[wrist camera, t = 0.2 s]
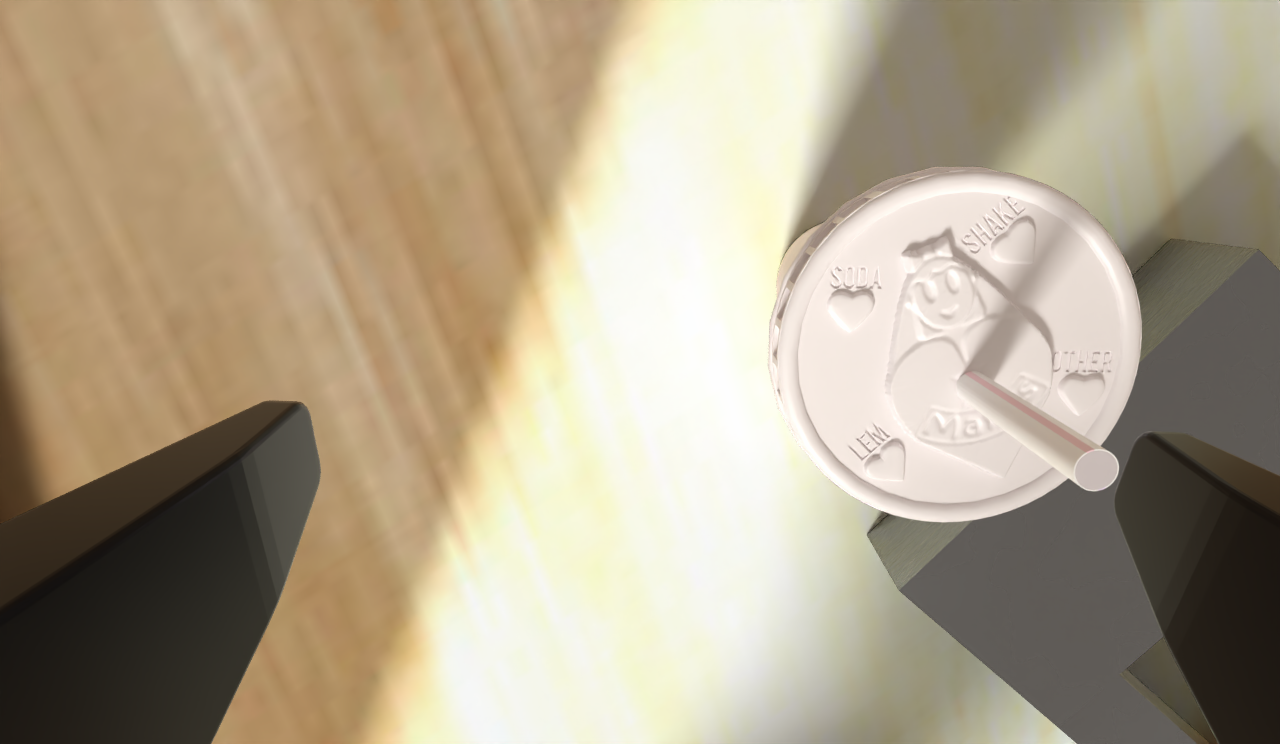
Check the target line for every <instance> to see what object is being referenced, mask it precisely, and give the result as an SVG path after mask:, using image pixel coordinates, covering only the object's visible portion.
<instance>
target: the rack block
mask: <svg viewBox="0 0 1280 744" xmlns="http://www.w3.org/2000/svg"><path fill="white" fill-rule="evenodd" d="M1132 278H1133V280H1134V283H1135V286H1136V290H1137V295H1138V299H1139V304H1140V312H1141V321H1142V341H1141V351H1140V359H1139V364H1138V369H1137V374H1136V377H1135V381H1134V384H1133V387H1132V391H1131V393H1130V396H1129V398H1128V400H1127V403H1126V405H1125V408H1124V410H1123V411H1122V413H1121V415H1120V417H1119V419H1118V421H1117V423H1116V424H1115V426H1114V428H1113V429H1112V431H1111V432H1110V434H1109V435H1108V437H1107V438H1106V440H1105V441H1104V442H1103V443H1102V445H1101V447H1103V448H1104V449H1106V450H1108V451H1109V452H1111V453H1112V454H1113V455H1114V456H1115V457H1116V458H1117V461H1118V464H1119V472H1118V475H1117V478H1116V479H1115V481H1114V482H1113V483H1112V484H1111V485H1110V486H1108V487H1107V488H1105V489H1103V490H1100V491H1088V490H1085V489H1083V488H1081V487H1080V486H1078V485H1077V484H1076V483H1074V482H1073V481H1072V480H1070V479H1069V478H1068V479H1067V480H1065V481H1064V482H1063V483H1061V484H1060V485H1059V486H1057V487H1056V488H1054V489H1053V490H1051V491H1050V492H1048V493H1046V494H1045V495H1043V496H1042V497H1040V498H1038V499H1036V500H1034V501H1032V502H1030V503H1028V504H1026V505H1023V506H1021V507H1018V508H1016V509H1013V510H1011V511H1008V512H1005V513H1002V514H998V515H995V516H991V517H987V518H982V519H977V520H970V521H962V522H927V521H920V520H913V519H907V518H903V517H899V516H895V515H892V514H888V515H887V516H886V517H885V518H884V519H883V520H882V521H881V522H880V523H879V524H878V525H877V526H876V527H875V528H874V529H873V530H872V531H871V532H870V533H869V534H867V536H868V538H869V540H870V541H871V543H872V545H873V547H874V548H875V550H876V552H877V553H878V555H879V557H880V559H881V560H882V562H883V564H884V566H885V567H886V569H887V571H888V573H889V574H890V576H891V578H892V579H893V581H894V583H895V585H896V586H897V588H898V590H899V591H900V592H901V593H902V594H904V595H905V596H906V597H907V598H908V599H909V600H911V601H912V602H913V603H914V604H915V605H916V606H918V607H919V608H920V609H921V610H922V611H923V612H925V613H926V614H927V615H928V616H929V617H930V618H932V619H933V620H934V621H935V622H936V623H937V624H939V625H940V626H941V627H942V628H943V629H944V630H945V631H947V632H948V633H949V634H950V635H951V636H952V637H954V638H955V639H956V640H957V641H958V642H959V643H961V644H962V645H963V646H964V647H965V648H966V649H968V650H969V651H970V652H971V653H972V654H973V655H975V656H976V657H977V658H978V659H979V660H980V661H982V662H983V663H984V664H985V665H986V666H987V667H989V668H990V669H991V670H992V671H993V672H994V673H996V674H997V675H998V676H999V677H1000V678H1001V679H1003V680H1004V681H1005V682H1006V683H1007V684H1008V685H1010V686H1011V687H1012V688H1013V689H1014V690H1015V691H1016V692H1018V693H1019V694H1020V695H1021V696H1022V697H1023V698H1025V699H1026V700H1027V701H1028V702H1029V703H1030V704H1032V705H1033V706H1034V707H1035V708H1036V709H1037V710H1039V711H1040V712H1041V713H1042V714H1043V715H1044V716H1046V717H1047V718H1048V719H1049V720H1050V721H1051V722H1053V723H1054V724H1055V725H1056V726H1057V727H1058V728H1060V729H1061V730H1062V731H1063V732H1064V733H1065V734H1067V735H1068V736H1069V737H1070V738H1071V739H1072V740H1074V741H1075V742H1076V743H1077V744H1210V743H1209V742H1208V741H1207V740H1206V739H1205V738H1203V737H1202V736H1201V735H1200V734H1199V733H1198V732H1197V731H1196V730H1194V729H1193V728H1192V727H1191V726H1190V725H1189V724H1188V723H1187V722H1185V721H1184V720H1183V719H1182V718H1181V717H1180V716H1179V715H1178V714H1176V713H1175V712H1174V711H1173V710H1172V709H1171V708H1170V707H1168V706H1167V705H1166V704H1165V703H1164V702H1163V701H1162V700H1161V699H1159V698H1158V697H1157V696H1156V695H1155V694H1154V693H1153V692H1152V691H1150V690H1149V689H1148V688H1147V687H1146V686H1145V685H1144V684H1143V683H1141V682H1140V681H1139V680H1138V679H1137V678H1136V677H1135V676H1134V675H1132V674H1131V673H1130V672H1129V671H1128V670H1127V669H1126V668H1128V667H1129V666H1130V665H1131V664H1132V663H1133V662H1135V661H1136V660H1137V659H1138V658H1139V657H1140V656H1142V655H1143V654H1144V653H1145V652H1146V651H1147V650H1149V649H1150V648H1151V647H1152V646H1153V645H1154V644H1156V643H1157V642H1158V641H1159V640H1160V639H1161V638H1162V637H1163V635H1162V632H1161V630H1160V628H1159V625H1158V623H1157V621H1156V618H1155V616H1154V613H1153V611H1152V608H1151V606H1150V603H1149V601H1148V598H1147V595H1146V593H1145V590H1144V588H1143V585H1142V583H1141V580H1140V577H1139V575H1138V572H1137V570H1136V567H1135V564H1134V562H1133V559H1132V557H1131V554H1130V552H1129V549H1128V546H1127V544H1126V541H1125V539H1124V536H1123V534H1122V531H1121V528H1120V526H1119V523H1118V521H1117V518H1116V515H1115V510H1114V495H1115V491H1116V488H1117V485H1118V483H1119V480H1120V477H1121V475H1122V472H1123V469H1124V467H1125V464H1126V462H1127V459H1128V456H1129V454H1130V451H1131V448H1132V446H1133V444H1134V442H1135V440H1136V439H1137V437H1138V436H1139V435H1141V434H1143V433H1145V432H1149V431H1157V432H1180V433H1185V434H1188V435H1191V436H1193V437H1195V438H1197V439H1199V440H1202V441H1204V442H1206V443H1208V444H1210V445H1213V446H1215V447H1217V448H1219V449H1221V450H1224V451H1226V452H1228V453H1230V454H1233V455H1235V456H1237V457H1239V458H1241V459H1244V460H1246V461H1248V462H1250V463H1252V464H1255V465H1257V466H1259V467H1261V468H1264V469H1266V470H1268V471H1270V472H1272V473H1275V474H1277V475H1279V476H1280V271H1279V270H1278V269H1277V268H1276V267H1275V266H1274V265H1273V263H1272V262H1271V261H1270V260H1269V259H1268V258H1267V257H1266V256H1265V255H1264V254H1263V253H1262V252H1261V251H1260V250H1259V249H1251V248H1243V247H1234V246H1226V245H1218V244H1210V243H1202V242H1194V241H1186V240H1177V239H1170V240H1169V241H1168V242H1167V243H1166V244H1165V245H1164V246H1163V247H1162V248H1161V249H1160V250H1159V251H1158V252H1157V253H1156V254H1155V255H1154V256H1153V257H1152V258H1151V259H1150V260H1149V261H1148V262H1147V263H1146V264H1145V265H1144V266H1143V267H1142V268H1141V269H1139V270H1138V271H1137V272H1136V273H1135V274H1134V275H1133V276H1132Z"/></svg>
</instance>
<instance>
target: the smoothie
mask: <svg viewBox="0 0 1280 744" xmlns="http://www.w3.org/2000/svg"><path fill="white" fill-rule="evenodd" d="M776 288H777V299H776V303H775V306H774V309H773V312H772V315H771V319H770V326H769V351H768V368H769V373H770V377H771V381H772V385H773V390H774V394H775V398H776V402H777V407H778V409H779V411H780V413H781V415H782V416H783V418H784V420H785V422H786V424H787V425H788V427H789V429H790V431H791V433H792V434H793V436H794V438H795V440H796V442H797V443H798V445H799V446H800V447H801V448H802V449H803V450H804V451H805V452H806V453H807V455H808V456H809V457H810V459H811V460H812V461H813V463H814V464H815V465H816V466H817V467H818V468H819V469H820V470H821V472H822V473H823V474H824V475H825V476H827V477H828V478H829V479H830V480H831V481H832V482H833V483H834V484H835V485H837V486H838V487H839V488H841V489H842V490H844V491H845V492H846V493H848V494H849V495H851V496H852V497H854V498H856V499H857V500H859V501H861V502H863V503H865V504H867V505H869V506H871V507H873V508H875V509H878V510H880V511H883V512H886V513H889V514H892V515H895V516H899V517H903V518H907V519H913V520H920V521H927V522H962V521H970V520H977V519H982V518H987V517H991V516H995V515H998V514H1002V513H1005V512H1008V511H1011V510H1013V509H1016V508H1018V507H1021V506H1023V505H1026V504H1028V503H1030V502H1032V501H1034V500H1036V499H1038V498H1040V497H1042V496H1043V495H1045V494H1046V493H1048V492H1050V491H1051V490H1053V489H1054V488H1056V487H1057V486H1059V485H1060V484H1061V483H1063V482H1064V481H1065V480H1067V479H1068V478H1069V479H1070V480H1072V481H1073V482H1074V483H1076V484H1077V485H1078V486H1080V487H1081V488H1083V489H1085V490H1088V491H1100V490H1103V489H1105V488H1107V487H1108V486H1110V485H1111V484H1112V483H1113V482H1114V481H1115V479H1116V478H1117V475H1118V472H1119V464H1118V461H1117V458H1116V457H1115V456H1114V455H1113V454H1112V453H1111V452H1109V451H1108V450H1106V449H1104V448H1103V447H1101V445H1102V443H1103V442H1104V441H1105V440H1106V438H1107V437H1108V435H1109V434H1110V432H1111V431H1112V429H1113V428H1114V426H1115V424H1116V423H1117V421H1118V419H1119V417H1120V415H1121V413H1122V411H1123V410H1124V408H1125V405H1126V403H1127V400H1128V398H1129V396H1130V393H1131V391H1132V387H1133V384H1134V381H1135V377H1136V374H1137V369H1138V364H1139V359H1140V351H1141V341H1142V321H1141V312H1140V304H1139V299H1138V295H1137V290H1136V286H1135V283H1134V280H1133V278H1132V275H1131V272H1130V269H1129V267H1128V265H1127V263H1126V261H1125V259H1124V256H1123V254H1122V253H1121V251H1120V250H1119V248H1118V246H1117V245H1116V243H1115V241H1114V240H1113V239H1112V237H1111V236H1110V235H1109V233H1108V232H1107V231H1106V229H1105V228H1104V227H1103V226H1102V225H1101V224H1100V223H1099V222H1098V221H1097V220H1096V219H1095V218H1094V216H1093V215H1092V214H1090V213H1089V212H1088V211H1087V210H1086V209H1084V208H1083V207H1082V206H1081V205H1080V204H1078V203H1077V202H1076V201H1074V200H1073V199H1071V198H1069V197H1068V196H1066V195H1065V194H1063V193H1062V192H1060V191H1058V190H1056V189H1054V188H1052V187H1050V186H1048V185H1046V184H1043V183H1041V182H1038V181H1035V180H1033V179H1030V178H1026V177H1023V176H1019V175H1015V174H1011V173H1004V172H998V171H995V170H991V169H988V168H984V167H932V168H928V169H924V170H920V171H916V172H913V173H909V174H905V175H901V176H898V177H894V178H890V179H886V180H885V181H883V182H881V183H879V184H878V185H876V186H874V187H872V188H870V189H869V190H867V191H865V192H863V193H862V194H860V195H858V196H856V197H854V198H853V199H851V200H849V201H847V202H846V203H844V204H843V205H842V206H841V207H840V208H839V209H837V210H836V211H835V212H834V213H833V214H832V215H831V216H830V217H829V218H828V219H827V220H826V221H825V222H824V223H822V224H819V225H817V226H815V227H813V228H811V229H809V230H808V231H806V232H805V233H803V234H802V235H801V236H800V237H799V238H797V240H796V241H795V242H794V243H793V244H792V245H791V246H790V248H789V249H788V251H787V252H786V254H785V256H784V258H783V259H782V262H781V264H780V267H779V271H778V276H777V284H776Z"/></svg>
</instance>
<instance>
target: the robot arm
mask: <svg viewBox="0 0 1280 744" xmlns="http://www.w3.org/2000/svg"><path fill="white" fill-rule="evenodd" d="M320 474H321V468H320V460H319V455H318V450H317V445H316V440H315V436H314V431H313V426H312V421H311V416H310V413H309V411H308V409H307V407H306V406H305V405H304V404H303V403H301V402H296V401H264V402H262V403H259V404H257V405H255V406H253V407H251V408H249V409H246V410H244V411H242V412H240V413H238V414H236V415H234V416H231V417H229V418H227V419H225V420H223V421H221V422H219V423H216V424H214V425H212V426H210V427H208V428H206V429H204V430H201V431H199V432H197V433H195V434H193V435H191V436H188V437H186V438H184V439H182V440H180V441H178V442H176V443H173V444H171V445H169V446H167V447H165V448H163V449H161V450H158V451H156V452H154V453H152V454H150V455H148V456H145V457H143V458H141V459H139V460H137V461H135V462H133V463H130V464H128V465H126V466H124V467H122V468H120V469H118V470H115V471H113V472H111V473H109V474H107V475H105V476H103V477H100V478H98V479H96V480H94V481H92V482H90V483H87V484H85V485H83V486H81V487H79V488H77V489H75V490H72V491H70V492H68V493H66V494H64V495H62V496H60V497H57V498H55V499H53V500H51V501H49V502H47V503H45V504H42V505H40V506H38V507H36V508H34V509H32V510H29V511H27V512H25V513H23V514H21V515H19V516H17V517H14V518H12V519H10V520H8V521H6V522H4V523H2V524H0V744H211V743H212V741H213V739H214V737H215V735H216V733H217V731H218V729H219V727H220V725H221V722H222V720H223V718H224V716H225V714H226V712H227V710H228V708H229V706H230V704H231V702H232V699H233V697H234V695H235V693H236V691H237V689H238V687H239V685H240V683H241V681H242V679H243V676H244V674H245V672H246V670H247V668H248V666H249V664H250V662H251V660H252V658H253V656H254V653H255V651H256V649H257V647H258V645H259V643H260V641H261V639H262V637H263V635H264V633H265V631H266V628H267V626H268V624H269V622H270V620H271V618H272V615H273V613H274V611H275V609H276V606H277V604H278V602H279V599H280V597H281V594H282V591H283V589H284V586H285V583H286V580H287V577H288V575H289V572H290V569H291V566H292V563H293V560H294V557H295V554H296V551H297V548H298V545H299V542H300V539H301V536H302V533H303V530H304V527H305V525H306V522H307V519H308V516H309V513H310V510H311V507H312V504H313V501H314V498H315V495H316V492H317V489H318V486H319V482H320ZM1114 510H1115V515H1116V518H1117V521H1118V523H1119V526H1120V528H1121V531H1122V534H1123V536H1124V539H1125V541H1126V544H1127V546H1128V549H1129V552H1130V554H1131V557H1132V559H1133V562H1134V564H1135V567H1136V570H1137V572H1138V575H1139V577H1140V580H1141V583H1142V585H1143V588H1144V590H1145V593H1146V595H1147V598H1148V601H1149V603H1150V606H1151V608H1152V611H1153V613H1154V616H1155V618H1156V621H1157V623H1158V625H1159V628H1160V630H1161V632H1162V635H1163V637H1164V639H1165V641H1166V643H1167V645H1168V647H1169V649H1170V652H1171V654H1172V656H1173V658H1174V660H1175V662H1176V664H1177V665H1178V667H1179V669H1180V671H1181V673H1182V675H1183V677H1184V679H1185V681H1186V683H1187V685H1188V687H1189V689H1190V690H1191V692H1192V694H1193V696H1194V698H1195V700H1196V702H1197V704H1198V706H1199V708H1200V710H1201V712H1202V714H1203V715H1204V717H1205V719H1206V721H1207V723H1208V725H1209V727H1210V729H1211V731H1212V733H1213V735H1214V737H1215V739H1216V741H1217V742H1218V744H1280V476H1279V475H1277V474H1275V473H1272V472H1270V471H1268V470H1266V469H1264V468H1261V467H1259V466H1257V465H1255V464H1252V463H1250V462H1248V461H1246V460H1244V459H1241V458H1239V457H1237V456H1235V455H1233V454H1230V453H1228V452H1226V451H1224V450H1221V449H1219V448H1217V447H1215V446H1213V445H1210V444H1208V443H1206V442H1204V441H1202V440H1199V439H1197V438H1195V437H1193V436H1191V435H1188V434H1185V433H1180V432H1157V431H1149V432H1145V433H1143V434H1141V435H1139V436H1138V437H1137V439H1136V440H1135V442H1134V444H1133V446H1132V448H1131V451H1130V454H1129V456H1128V459H1127V462H1126V464H1125V467H1124V469H1123V472H1122V475H1121V477H1120V480H1119V483H1118V485H1117V488H1116V491H1115V495H1114Z"/></svg>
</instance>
